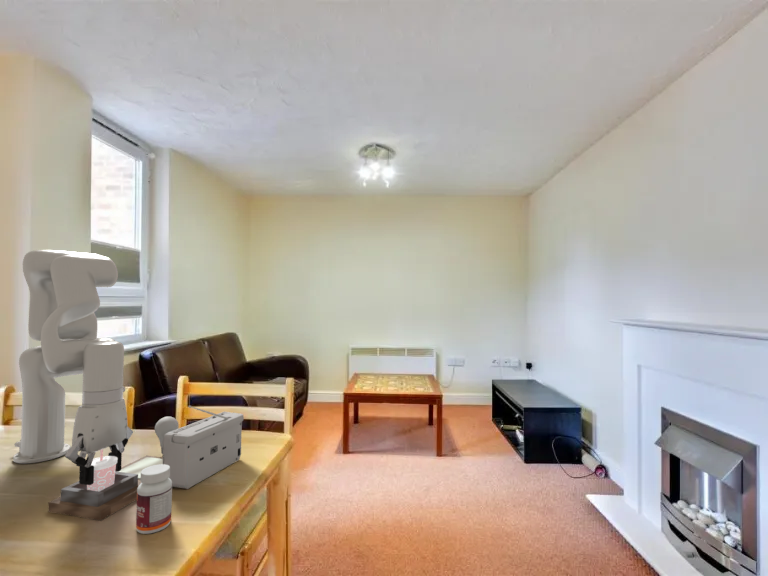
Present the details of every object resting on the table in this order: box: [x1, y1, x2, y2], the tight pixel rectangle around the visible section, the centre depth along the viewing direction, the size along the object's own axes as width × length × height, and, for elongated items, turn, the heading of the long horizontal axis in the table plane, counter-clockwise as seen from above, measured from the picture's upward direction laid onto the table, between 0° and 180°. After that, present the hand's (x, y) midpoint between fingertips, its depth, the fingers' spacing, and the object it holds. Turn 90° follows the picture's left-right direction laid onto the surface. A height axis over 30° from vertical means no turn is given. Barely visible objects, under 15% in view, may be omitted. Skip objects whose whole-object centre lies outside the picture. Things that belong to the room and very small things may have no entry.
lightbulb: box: [154, 416, 179, 455], centre depth 116 cm, size 6×6×11 cm
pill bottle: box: [135, 464, 173, 535], centre depth 80 cm, size 6×6×11 cm
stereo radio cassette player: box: [162, 405, 245, 490], centre depth 105 cm, size 21×8×20 cm, turn 160°
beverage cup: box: [87, 449, 118, 491], centre depth 89 cm, size 6×6×14 cm
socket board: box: [47, 455, 163, 521], centre depth 96 cm, size 14×26×4 cm, turn 167°
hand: (100, 476), depth 89 cm, fingers closed on beverage cup, 6 cm apart
